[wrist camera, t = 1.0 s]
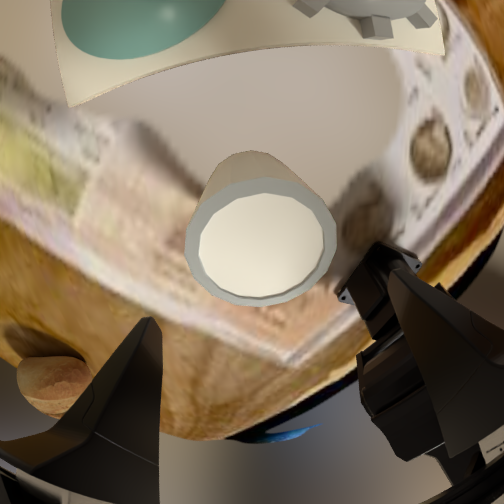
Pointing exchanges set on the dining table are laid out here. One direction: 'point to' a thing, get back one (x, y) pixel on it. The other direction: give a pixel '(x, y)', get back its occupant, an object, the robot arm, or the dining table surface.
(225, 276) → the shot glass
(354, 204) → the dining table surface
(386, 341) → the robot arm
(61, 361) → the bread roll
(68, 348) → the dining table surface
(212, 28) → the gear board
